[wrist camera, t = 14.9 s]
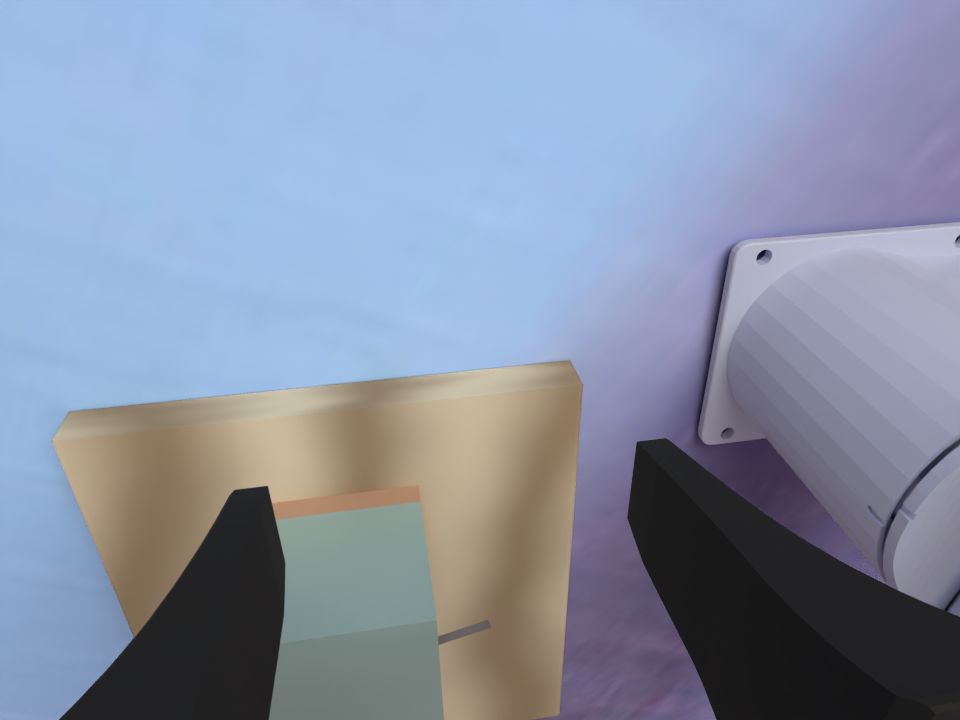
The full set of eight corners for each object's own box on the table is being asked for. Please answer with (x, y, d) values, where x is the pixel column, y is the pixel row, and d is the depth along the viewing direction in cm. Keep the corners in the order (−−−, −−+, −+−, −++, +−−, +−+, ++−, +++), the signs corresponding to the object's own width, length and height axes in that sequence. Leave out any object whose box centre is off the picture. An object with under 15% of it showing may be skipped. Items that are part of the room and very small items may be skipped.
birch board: (570, 360, 24) (582, 384, 23) (550, 685, 33) (559, 715, 32) (68, 411, 22) (51, 441, 21) (198, 743, 31) (192, 777, 30)
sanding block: (418, 485, 24) (437, 620, 19) (432, 655, 28) (449, 796, 24) (265, 504, 23) (246, 648, 18) (305, 675, 28) (298, 824, 23)
